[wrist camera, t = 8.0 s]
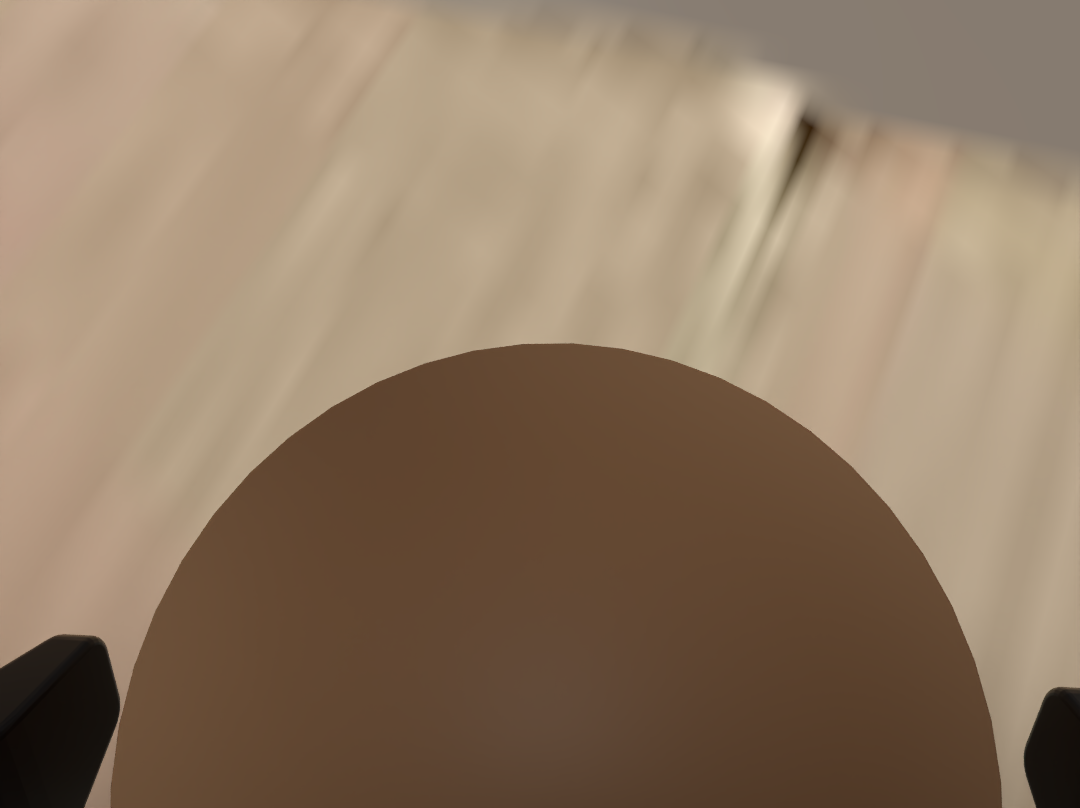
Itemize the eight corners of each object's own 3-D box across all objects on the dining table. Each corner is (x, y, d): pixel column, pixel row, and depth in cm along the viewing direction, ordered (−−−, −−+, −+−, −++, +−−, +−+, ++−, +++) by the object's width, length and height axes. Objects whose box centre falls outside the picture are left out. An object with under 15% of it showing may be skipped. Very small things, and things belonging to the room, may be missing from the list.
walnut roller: (571, 896, 15) (610, 1611, 3) (387, 718, 16) (-72, 801, 4) (727, 692, 16) (1172, 705, 4) (545, 536, 17) (512, 206, 5)
